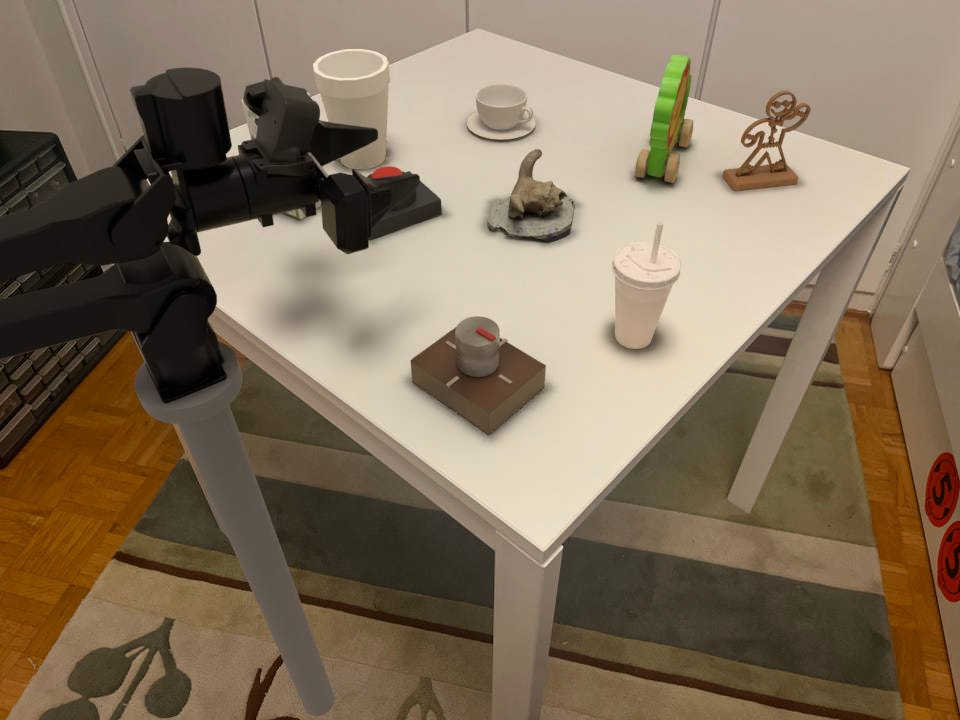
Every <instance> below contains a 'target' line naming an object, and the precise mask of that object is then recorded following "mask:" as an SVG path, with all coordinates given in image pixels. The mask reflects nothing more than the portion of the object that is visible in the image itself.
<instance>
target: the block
mask: <svg viewBox="0 0 960 720" xmlns="http://www.w3.org/2000/svg"><path fill="white" fill-rule="evenodd" d="M401 171H402V175H404V174H413V172H412V171H410V170H407V171H403V170H401ZM372 174H373V172H372V173H370V174H368V175H367V176H365V177H366V178H369V179H372ZM442 209H443V208H442V198H440V197H439V196H438V195H437V194H436V193H435V192H433V190H432V189H430V187H428V186H427V185H426V184H425V183H424V182H423V181H422V180H420V184H419V186H418V187H417V188H415V189H414V190H413V191H412V192H411V193H410V194H409V195H407V196H406V197H405V198H404V199H403V200H402V201H401V202H399V203H398V204H397V205H396V206H395V207H394V208H393V209H392V210H390V211H389V212H388V213H387V214H386V215H385V216H384V217H383V218H382V219H381V220H380V222H379V223H378V224H377V225H376V226H375V227H374V228H373V229H372V236H371V238H370V239H369V241H372V240H375V239H378V238H380V237H383V236H386V235H388V234H391V233H394V232H396V231H400V230H402V229H405V228H408V227H411V226H413V225H416V224H419V223H422V222H425V221H427V220H430V219H432V218H436V217H439V216H441V215H442V214H443V213H442Z"/></svg>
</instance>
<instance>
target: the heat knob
mask: <svg viewBox="0 0 960 720" xmlns="http://www.w3.org/2000/svg"><path fill="white" fill-rule="evenodd" d="M455 327H456V330H455V338H456V363H457V367H458V368H459V370H460V371H461V372H462V373H464V374H465V375H468V376H471V377H484V376H488V375H490V374H492V373H493V372H494V371H495V370H496V369H497V368H498V366H499V343H500V338H501V337H500V335H501V334H500V332H501V331H500V327H499V325H498V324H497V323H496V321H494V320H493V319H491V318H489V317H486V316H479V315H478V316H477V315H475V316H470V317H467V318H464V319H462V320H461V321H459V323H457V324H456V326H455Z"/></svg>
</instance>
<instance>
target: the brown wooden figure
mask: <svg viewBox="0 0 960 720" xmlns="http://www.w3.org/2000/svg"><path fill="white" fill-rule="evenodd" d="M782 96H790V97H791V101H790V100H788V99H784V100H783V101H779V100H777V99H779V98H781V97H782ZM797 101H798V100H797V97H796V95H794V93H793V92H792V91H789V90H780V91H778V92H776V93H775V94H773V95H772V96H771V97H770V98H769V100H768V101H767V103H766V106H765V114H766V116H767V117H763V118H760V119H757V120H755V121H753V122H752V123H751V124H749V126H747V128H746V129H745V130H744V131H743V133H742V135H741V138H740V143H741V144H742V146H743V147H744V148H752V147H753V146H755V144H757V145H756V147H755V148H754V149H753V151H752V152H751V153H750V154H749V155H748V157H747V158H746V159H745V161H744V162H743V163H742V165H741V166H740V167H736V168H728V169H726V168H725V169H724V170H723V172H722V178H723V180H724V181H725V182H726V183H727V184H728V186H729V187H730V189H732V191H734V192H738V191H748V190H756V189H757V190H758V189H764V188H765V189H766V188H774V187H781V186H783V187H784V186H792V185H797V184H798V180H799V176H798V175H797V174H796V173H795V171H793V169H792V168H791V167H790V166H789V165H788V163H787V161H786V157H785V154H784V151H783V148H782V145H783V142H784V139H785V135H786V133H790V132H792V131H795V130H797V129H798V128H799V127H801V126H802V125H803V124H804V123H805V122H806V121H807V119H808V118H809V116H810V113H811V106H810V105H809V104H808V103H806V102H800V103H798V104H797ZM771 107H774V108H775V109H777V110H778V109H780V108H781V107H784V108H783V109H782V110H780V111H775V110H774V109H773V108H771ZM802 108H805V111H803V110H801V109H802ZM771 113H772V114H773V115H774V116H773V115H772V114H771ZM796 117H800V119H798V121H797V122H796V123H794V124H793V125H791V126H788V127H785V128H782V127H783V126H784V123H785V121H791V120H793V119H795V118H796ZM765 123H767V125H768V127H769V128H770V135H769V136H768V137H767V139H768V141H767V142H764V139H765V136H766V132H765V131H764V130H759V131H757V132H756V133H755V134H751V133H750V132H752V130H753V129H755V128H756V127H757V126H759V125H761V124H765ZM777 126H779V127H781V131H780V134H779V137H778V140H776V137H774V134H776V133H778V128H777ZM746 140H748V141H749V140H750V141H749V142H748V143H746ZM775 140H776V141H775ZM771 148H778V153H779V155H780V156H779V157H780V159H778V160H776V161H775V162H773V163H772V159H771V156H770V153H769V152H768V151H767V150H765V152H764V153H763V155H761V157H760V158H759V159H758V160H757V162H756V163H755V164H754V165H751V164H750V163H751V162H752V161H753V159H754V158H755V157H756V155H758V153H760V151H761V150H762V149H771ZM766 160H767V163H768V164H763V163H764V162H765V161H766ZM762 164H763V165H762Z"/></svg>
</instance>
